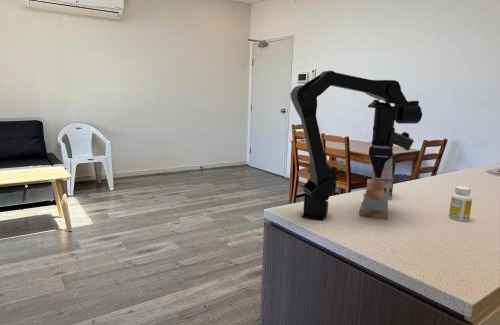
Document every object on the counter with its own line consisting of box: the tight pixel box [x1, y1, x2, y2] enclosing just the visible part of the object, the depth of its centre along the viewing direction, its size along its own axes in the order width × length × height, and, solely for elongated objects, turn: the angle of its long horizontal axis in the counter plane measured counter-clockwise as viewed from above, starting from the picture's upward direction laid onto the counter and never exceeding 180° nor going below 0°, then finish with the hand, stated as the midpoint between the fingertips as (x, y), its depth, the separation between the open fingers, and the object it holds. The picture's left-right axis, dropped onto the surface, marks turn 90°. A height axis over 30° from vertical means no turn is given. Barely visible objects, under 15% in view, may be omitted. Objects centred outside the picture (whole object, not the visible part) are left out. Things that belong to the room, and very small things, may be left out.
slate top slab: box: [362, 192, 389, 212], centre depth 110 cm, size 7×7×3 cm
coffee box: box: [371, 152, 397, 201], centre depth 129 cm, size 9×6×16 cm
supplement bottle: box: [448, 185, 473, 222], centre depth 108 cm, size 5×5×10 cm
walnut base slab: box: [358, 201, 389, 221], centre depth 110 cm, size 8×8×3 cm
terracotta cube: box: [365, 178, 385, 200], centre depth 109 cm, size 5×5×5 cm
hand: (379, 174), depth 108 cm, fingers open, 9 cm apart
